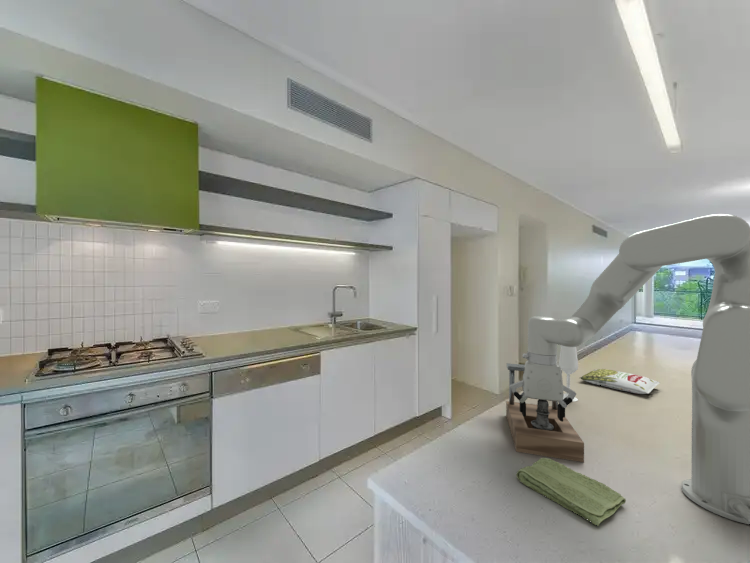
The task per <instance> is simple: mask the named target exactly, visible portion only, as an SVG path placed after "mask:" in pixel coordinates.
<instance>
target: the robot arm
mask: <svg viewBox="0 0 750 563" xmlns="http://www.w3.org/2000/svg"><path fill="white" fill-rule="evenodd" d="M700 260H708V261H709V262H710V263H711V264H712V265H713V269H714V279H713V283H712V290H711V294H710V299H709V300H710V301H709V304H708V307H707V311H706V314H705V316H704V318H703V319H702V333H701V338H700V342H699V347H698V351H697V356H696V360H695V361H694V362H693V364H692V366H691V404H692V405H691V472H690V473H691V477H690V478H689V479H684V480H683V481H681V491H682V493H683V494H684V495H685V496H686V497H687V498H688V499H689V500H691V501H692V502H694V503H695V504H696V505H698V506H699V507H701V508H703V509H705V510H707V511H709V512H711V513H713V514H715V515H718V516H721V517H722V518H726V519H728V520H731V521H734V522H737V523H741V524H744V525H749V524H750V224H749V223H748V222H747V221H746V220H744V219H743V218H742V217H739V216H737V215H733V214H728V213H717V214H715V213H714V214H709V215H704V216H700V217H695V218H693V219H687V220H682V221H680V222H676V223H673V224H667V225H663V226H658V227H655V228H651V229H646V230H642V231H637V232H635V233H632V234H630V235H629V236H627V237H626V238H625V239H624V240H623V241H622V242H621V244H620V245H619V250H618V254H617V255H616V256H615V257H614V258H613V260H611V262H610V263H609V265H607V266H606V268H605V269H604V270H603V271H602V272H601V273H600V274H599V276H597V277H596V279H595V280H594V281H593V283H592V284H591V287H590V291H589V294H588V296H587V298H586V299H585V300H584V302H583V303H582V305H581V306H579V307H578V309H577V310H576V311H575V312H574V313H573V314H572V315H571V316H570V317H569V318H566V319H556V318H554V317H550V316H541V315H540V316H538V315H535V316H531V317H530V318H529V319H528V321H527V323H528V324H527V330H528V331H527V352H526V353H522V359H526V361H525V363H524V365H525V366H524V371H523V374H522V380H519V381H517V382H515V383H514V384H511V385H510V388H511V390H512V392H513V394H514V398H516V399H517V400H518V401H519V403H520V412H522V415H523V417H525V416H526V404H527V403H526V401H527V400H528V399H533V400H547V401H548V402H549V401H551V402H552V401H558V405H557V417H558V418H559V420H560V421H562V422H563V418H565V417H566V408H567V406H568V405H570V404H571V403H572V402H573V401H572V400H573V399H574V397H575V398H576V395H577V393H576V391H575V390H573V389H571V388H570V389H569V388H568V387H567V385H566V386H565V385H564V383H563V371H562V372H561V370H562V369H561V367H560V365H559V363H558V345H559V346H561V345H562V346H566V347H576V348H577V347H580V346H582V345H583V344H585V343H586V342H588V341H590V340H591V339H592V338H594V336H595V335H596V334H597V333H598V332H599V331H600V330H601V329H603V327H604V326H605V325H606V324H607V323H608V322H609V321H610V320H611V319H612V317H613V316H615V314H616V313H617V312H619V311H620V310H621V309H622V308H624V307H625V305H626V304H627V303H628V302H629V301H630V300H631V299H632V298H633V297H634V296H635V295H636V294H637V292H638V291H639V290H640V289H641V288H642V287H644V285H645V284H646V283H647V282H648V281H649V280H650V279H651V278H652V277H653V276H654V275H655V274H656V273H657V272H658V271H659V270H660V269H661V268H662V267H665V266H670V265H671V266H673V265H677V264H678V265H679V264H684V263H690V262H694V261H700ZM521 387H522V393H519V392H518V391H517V389H518V388H519V389H520V388H521ZM564 392H565V393H568V396H567V397H566V398H564V399H563V394H564Z"/></svg>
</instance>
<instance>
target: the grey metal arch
mask: <svg viewBox="0 0 750 563" xmlns="http://www.w3.org/2000/svg"><path fill="white" fill-rule="evenodd" d="M524 366H525V364H518V363H508V362H507V363H506V368H507V370H509V378H508V379H509V384H508V387H509V391H508V392H509V393H508V394H509V395H508V397H509V398H508V400H509V404H511V405H514V402H515V396H514V394H513V392H512V390H511V388H510V385H511V384H514V383H516V382H515V381H516V380H515V376H516V375H515V371H516V372H518V371H519V372H524ZM561 372H562V373H563V370H562V369H561ZM558 404H559V402H558V401H551V406H552V409H554V410H557V405H558Z"/></svg>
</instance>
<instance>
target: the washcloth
mask: <svg viewBox="0 0 750 563" xmlns="http://www.w3.org/2000/svg"><path fill="white" fill-rule="evenodd" d="M515 475H516V478H517V480H518V481H519V482H520V483H522V484H523V485H524V486H526V487H528V488H530V489H531V490H533V491H534V492H536V493H538V494H540V495H542V496H543V495H544V496H543V497H545V496H546V497H545V498H547V499H548V498H549V499H548V500H550V499H551V501H552V500H553V502H555V503H556V502H557V503H556V504H558V505H559V504H560V505H559V506H562V508H565V509H567V510H568V511H571V512H572V511H573V512H574V514H575V513H576V515H577V514H578V515H577V516H579V515H580V517H581V516H582V518H583V517H584V518H585V519H588V521H587V522H589V521H591V522H592V523H591V524H592V525H595V526H596V525H597V527H600V524H601V523H603V521H605V520H606V519H608V518H610V517H611V516H613V515H614V514H615V513H616V512H617V510H618V509H619V508H620V507H622V505H624V504H626V501H627V500H626V498H625V497H624V496H622V494H621V493H619V492H617V491H616V490H614V489H613V488H610V486H608V485H606V484H605V483H603V482H600V481H598V480H597V479H593V478H591V477H589V476H587V475H586V474H583V473H581V472H578V471H575V470H574V469H571V467H568V466H566V465H565V464H563V463H560V462H559V461H555V460H554V459H551V458H549V457H541V458H539V459H538V460H536V461H535V462H533V463H532V465H531V466H530V465H527V466H524V467H523V468H522V467H521V468H520V469H518V471H517V472H516V474H515ZM573 512H572V513H573ZM584 518H583V519H584ZM585 519H584V520H585Z"/></svg>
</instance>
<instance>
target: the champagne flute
mask: <svg viewBox="0 0 750 563" xmlns="http://www.w3.org/2000/svg"><path fill="white" fill-rule="evenodd" d="M558 359H559V360H558V365H560V367H561V370H562V372H563V373H564V374H566V387H568V388H569V389H571V375H573V374H574V373H576V372H577V370H579V359H578V350H577V347H566V346H562V345H560V351H559V358H558ZM567 396H568V393H567V392H565V393H563V399H564V398H566V397H567ZM578 401H579V399H578V398H577V397H576V396H575V397H574V399H573V400H572V402H578Z"/></svg>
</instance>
